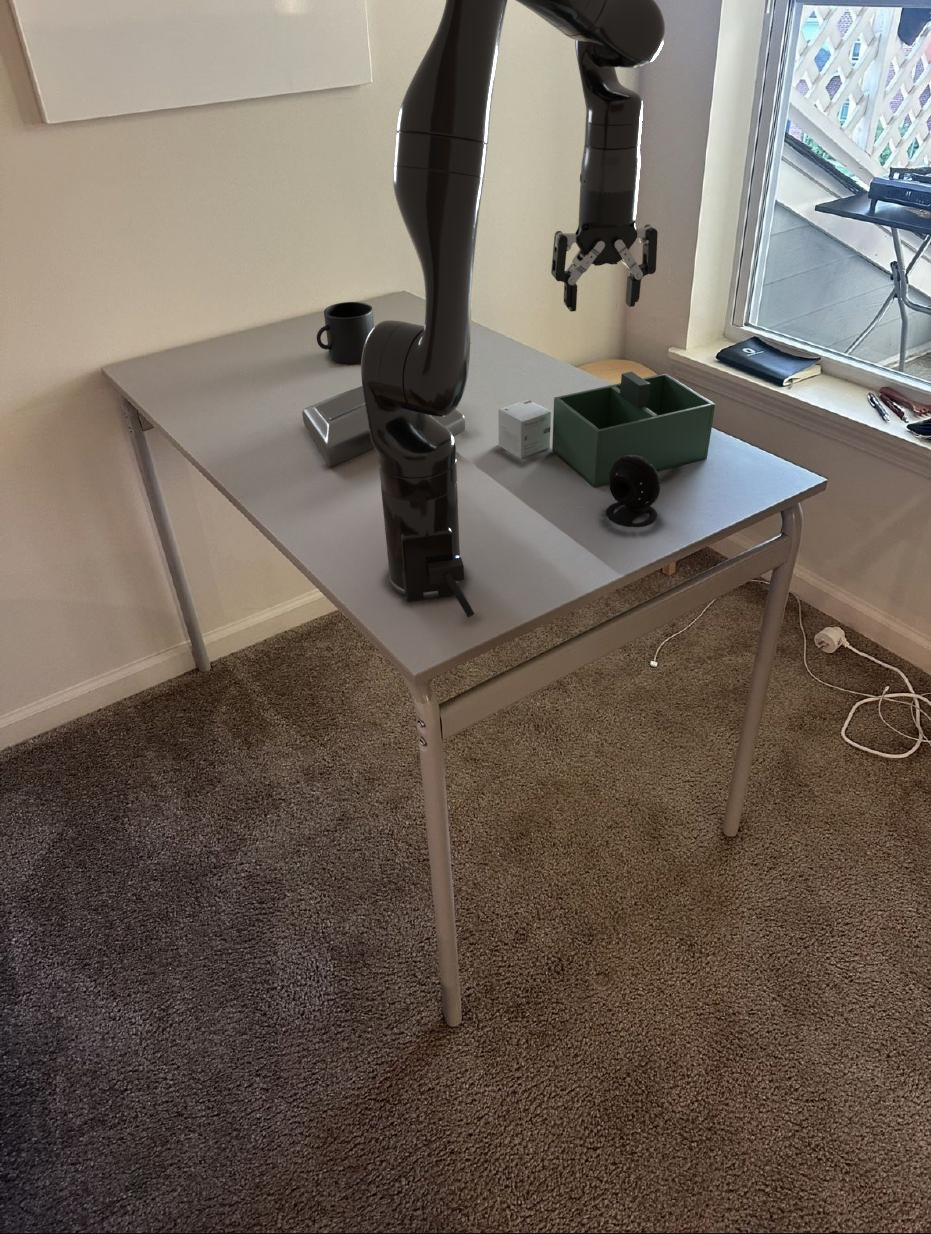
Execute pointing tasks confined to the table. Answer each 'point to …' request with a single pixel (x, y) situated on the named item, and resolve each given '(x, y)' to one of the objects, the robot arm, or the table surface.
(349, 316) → the mug
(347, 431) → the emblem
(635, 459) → the webcam
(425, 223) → the robot arm
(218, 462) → the table surface
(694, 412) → the bin
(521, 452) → the product carton
